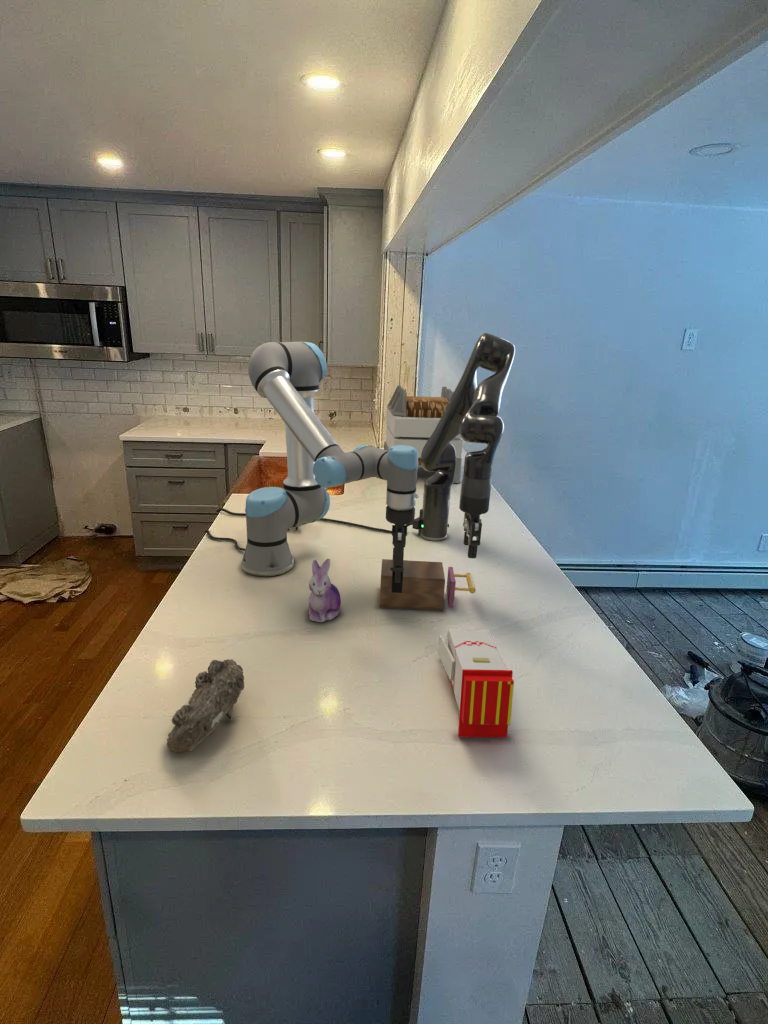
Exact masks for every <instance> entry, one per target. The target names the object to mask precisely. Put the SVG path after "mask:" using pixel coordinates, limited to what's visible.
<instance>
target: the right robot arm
mask: <svg viewBox="0 0 768 1024" xmlns="http://www.w3.org/2000/svg"><path fill="white" fill-rule="evenodd" d="M515 354H516V346H515V344H514V343H512V342H511V341H509V340H507V339H504V338H502V337H499V336H497V335H494V334H492V333H488V332H483V333H482V334H481V335H480V336H479V337H478V339H477V341H476V342H475V345H474V347H473V349H472V351H471V354H470V356H469V358H468V361H467V363H466V366H465V367H464V370H463V373H462V375H461V377H460V379H459V381H458V383H457V385H456V386H455V388H454V390H453V391H454V393H453V394H452V396H451V398H450V400H449V402H448V404H447V406H446V408H445V411H444V413H443V415H442V417H441V419H440V421H439V423H438V425H437V426H436V428H435V430H434V432H433V433H432V435H431V436H430V438H429V439H428V441H427V442H426V444H425V446H424V447H423V450H422V452H421V457H420V462H421V466H420V467H422V469H423V470H424V471H426V472H434V473H433V474H432V475H431V476H429V477H428V478H426V479H425V480H424V482H423V493H422V496H423V497H422V506H421V508H420V509H419V516H418V517H415V519H414V521H413V522H412V523H410V524H406V525H404V526H407V528H408V527H410V526H412V529H414V530H417V535H418V536H420V538H421V539H424V540H426V541H432V542H440V541H444V540H446V539H447V538H448V528H450V524H449V517H450V516H449V514H450V504H451V494H452V493H451V491H452V486H453V484H454V483H453V481H454V473H455V467H456V451H455V448H454V446H453V445H452V444H451V443H449V442H450V441H452V440H453V439H454V438H455V437H457V436H458V435H459V434H460V435H461V437H462V438H461V440H462V441H463V442H466V443H471V444H483V445H487V446H486V447H485V448H483V449H480V450H474V451H469V452H467V453H466V454H465V456H464V461H463V462H464V463H463V474H462V479H461V482H460V483H461V485H460V495H459V510H460V511H461V512H462V513H464V514H463V523H462V526H463V533H464V534H463V545H464V546H467V547H468V548H467V558H468V559H476V558H477V557H478V548H479V547H478V546H481V540H482V539H481V538H482V528H483V522H482V518H481V515H484V514H487V513H488V512H489V511H490V502H491V501H490V500H491V492H492V491H491V490H492V474H493V473H492V472H493V463H494V458H495V454H496V452H497V449H498V446H499V444H500V442H501V440H502V437H503V435H504V431H505V423H504V421H503V419H502V418H501V417H500V416H498V415H499V412H500V408H501V402H502V395H503V391H504V388H505V386H506V383H507V380H508V377H509V374H510V372H511V368H512V365H513V362H514V359H515ZM479 368H481V369H484V370H486V371H489V372H491V373H493V374H492V375H490V376H488V377H486V378H484V379H483V380H482V381H480V382H479V384H478V383H477V381H478V380H477V370H478V369H479ZM221 511H222V512H224V513H227V514H228V515H230V516H237V517H246V513H245V512H233V511H231V510H228V509H226V508H222V507H220V508H218V509H217V510H216V511H215V513H220V512H221ZM318 521H321V522H323V521H324V522H330V523H335V524H342V525H347V526H351V527H357V528H361V529H365V530H370V531H375V532H383V533H387V534H392V530H390V529H389V530H388V529H385V528H378V527H373V526H369V525H364V524H359V523H355V522H350V521H344V520H338V519H332V518H325V517H323V518H321V519H319V520H318ZM474 537H475V540H474Z"/></svg>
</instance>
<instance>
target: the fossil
mask: <svg viewBox="0 0 768 1024" xmlns="http://www.w3.org/2000/svg"><path fill="white" fill-rule="evenodd" d="M243 670H244V669H243V667H242V665H240V664H237V662H236V661H235V660H234V659H232V658H231V659H227V658H226V659H224V660H223V661H222V660H217V659H212V660H211V661H210V663H209V665H208V666H207V671H201V672H199V673H198V674H197V675H196V676H195V680H194V684H195V685H194V687H195V689H194V690H193V693H192V694H191V697H190V698H189V700H188V704H184V705H182V706H181V707H180V709H177V710H176V711H175V713H174V715H173V716H172V718H171V723H172V724H173V727H172V730H171V731H170V732H168V734H167V738H166V741H167V742H166V745H167V749H168V750H169V751H173V752H174V753H176V754H178V753H182V752H188V751H189V752H192V751H193V750H195V748H196V747H197V746H199V744H200V743H201V742H203V741H204V740H205V739H206V738H207V737H208V736H209V735H210V734H211V733H212V732H214V730H215V729H217V727H218V726H219V724H220V722H221V721H222V720H223V719H224V718H225V716H226V717H227V719H229V720H233V717H232V715H230V714H229V710H230V709H231V708H234V706H235V704H236V703H237V702H238V699H239V697H240V695H241V693H242V691H243V690H245V689H244V688H245V675H244V671H243Z"/></svg>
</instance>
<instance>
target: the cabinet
mask: <svg viewBox="0 0 768 1024" xmlns="http://www.w3.org/2000/svg"><path fill="white" fill-rule="evenodd" d="M393 563H394V560H393V559H390V558H389V559H388V558H386V559H385V558H382V559H381V571H380V587H379V588H380V589H379V590H380V592H379V609H395V610H397V609H398V610H399V609H400V610H414V611H415V610H416V611H437V612H443V607H444V599H443V596H444V597H445V588H444V585H445V586H446V576H445V571H444V564H443V562H442V561H428V560H426V561H425V560H410V559H409V560H405V559H403V569H404V570H403V583H402V593H391V592H392V571H390V568H393Z"/></svg>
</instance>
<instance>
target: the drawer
mask: <svg viewBox="0 0 768 1024" xmlns="http://www.w3.org/2000/svg"><path fill="white" fill-rule="evenodd" d="M456 578H465V579H466V582H467V583H466V584H467V587H456V583H457V582H456ZM445 588H446V590H445V591H446V592H445V593H446V597H447V603H448V607H449V608H453V607H454V606H455V605H454V604H455V593H456V591H459V592H460V591H461V592H469V593H470V594H475V593H476V590H477V589H476V586H475V582H474V578H473V575H472V573H471V572H467V573H466V574H462V573H455V572H454V567H453V566H448V567H447V577H446V584H445V585H444V589H445ZM444 597H445V595H444V596H443V600H444Z"/></svg>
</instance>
